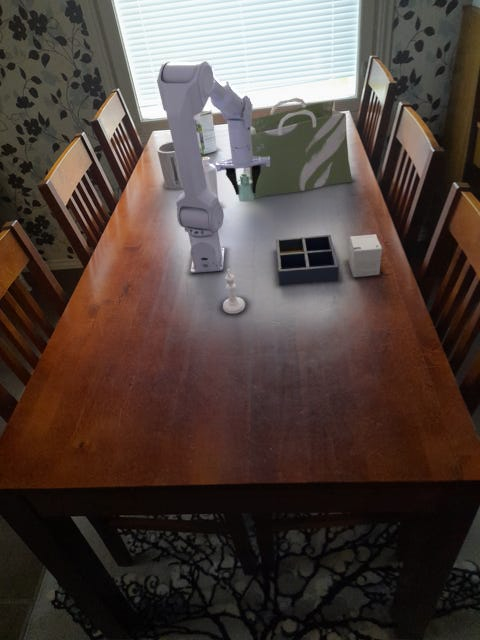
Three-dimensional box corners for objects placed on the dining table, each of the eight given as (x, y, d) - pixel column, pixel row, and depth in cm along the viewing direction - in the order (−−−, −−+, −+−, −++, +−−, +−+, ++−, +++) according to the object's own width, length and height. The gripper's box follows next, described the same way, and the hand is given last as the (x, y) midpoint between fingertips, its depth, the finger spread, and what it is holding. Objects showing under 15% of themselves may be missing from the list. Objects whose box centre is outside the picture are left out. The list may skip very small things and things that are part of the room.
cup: (184, 174, 155) (177, 138, 147) (197, 182, 148) (190, 146, 140) (160, 182, 151) (152, 147, 143) (172, 191, 145) (164, 155, 137)
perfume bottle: (219, 211, 133) (212, 161, 123) (205, 211, 134) (196, 162, 124) (223, 203, 136) (216, 154, 126) (209, 203, 137) (201, 155, 127)
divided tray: (337, 280, 103) (338, 266, 100) (279, 285, 104) (278, 271, 102) (330, 248, 113) (330, 234, 110) (276, 252, 114) (275, 239, 111)
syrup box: (197, 150, 169) (190, 109, 159) (212, 145, 171) (206, 105, 161) (203, 155, 165) (196, 113, 155) (218, 150, 166) (212, 109, 157)
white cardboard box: (373, 260, 107) (376, 233, 102) (379, 275, 103) (382, 248, 98) (347, 262, 108) (349, 235, 103) (352, 277, 103) (354, 250, 98)
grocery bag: (248, 200, 136) (240, 120, 120) (242, 180, 146) (233, 104, 131) (352, 182, 137) (358, 101, 122) (338, 164, 147) (341, 87, 132)
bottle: (253, 201, 128) (251, 177, 123) (239, 202, 128) (236, 179, 123) (253, 194, 131) (251, 171, 126) (239, 195, 131) (236, 172, 127)
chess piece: (244, 298, 102) (239, 261, 95) (245, 312, 98) (240, 275, 92) (222, 300, 102) (216, 264, 96) (223, 314, 99) (216, 278, 92)
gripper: (268, 136, 121) (271, 183, 131) (214, 141, 123) (221, 188, 132) (268, 146, 116) (272, 194, 125) (213, 151, 117) (220, 199, 127)
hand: (246, 192), depth 128 cm, fingers closed on bottle, 4 cm apart
